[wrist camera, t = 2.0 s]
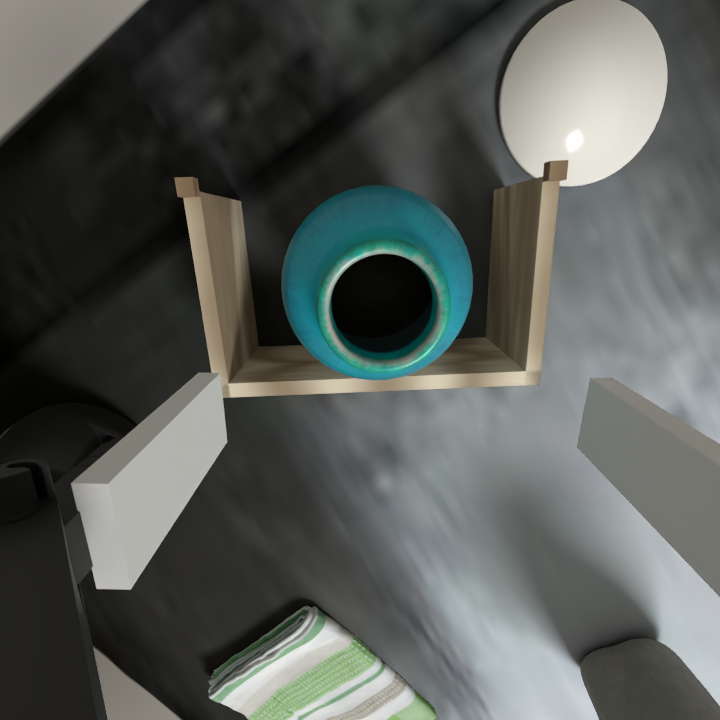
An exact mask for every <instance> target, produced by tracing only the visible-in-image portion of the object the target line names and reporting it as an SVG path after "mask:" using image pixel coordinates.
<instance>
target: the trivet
mask: <svg viewBox="0 0 720 720" xmlns="http://www.w3.org/2000/svg"><path fill="white" fill-rule="evenodd" d="M666 88H667V64H666V56H665V53H664V49H663V45H662V43H661V40H660V38H659V36H658V33H657V32H656V30H655V29H654V27H653V25H652V24H651V23H650V21H649V20H648V19H647V18H646V17H645V16H644V15H643V14H642V13H641V12H640V11H639V10H637V9H636V8H634V7H633V6H631V5H629V4H628V3H625V2H623V1H620V0H574V1H571V2H569V3H566V4H564V5H562V6H560V7H558V8H556V9H555V10H553V11H552V12H550V13H549V14H547V15H546V16H545V17H544V18H542V19H541V20H540V21H539V22H538V23H537V24H536V25H535V26H534V27H533V28H532V29H531V30H530V31H529V32H528V33H527V34H526V36H525V37H524V38H523V40H522V41H521V42H520V43H519V45H518V47H517V48H516V50H515V51H514V53H513V55H512V57H511V59H510V61H509V63H508V65H507V67H506V70H505V73H504V76H503V79H502V84H501V88H500V94H499V103H498V115H499V124H500V129H501V133H502V137H503V140H504V142H505V145H506V147H507V149H508V151H509V153H510V155H511V156H512V158H513V159H514V160H515V162H516V163H517V164H518V165H519V166H520V167H521V168H522V169H523V170H524V171H525V172H526V173H527V174H529V175H530V176H532V177H533V178H539V177H542V176H543V172H544V163H546V162H549V161H558V160H569V161H568V170H567V180H563V181H560V184H559V186H561V187H572V186H580V185H585V184H589V183H593V182H596V181H599V180H601V179H604V178H606V177H608V176H609V175H611V174H613V173H615V172H616V171H618V170H619V169H620V168H622V167H623V166H624V165H626V164H627V163H628V162H629V161H630V160H631V159H632V158H633V157H634V156H635V155H636V154H637V153H638V152H639V151H640V150H641V148H642V147H643V146H644V144H645V143H646V141H647V140H648V138H649V137H650V135H651V133H652V132H653V130H654V128H655V126H656V124H657V121H658V119H659V117H660V114H661V111H662V108H663V105H664V100H665V95H666Z"/></svg>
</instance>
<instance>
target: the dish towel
mask: <svg viewBox="0 0 720 720" xmlns="http://www.w3.org/2000/svg"><path fill="white" fill-rule="evenodd" d="M211 678H213V679H211V680H209V684H210V685H211V686H210V688H209V690H208V692H209V698H210V699H211V700H213V701H215V702H219V703H221V704H224V705H226V706H229V707H230V708H232V709H233V710H236V711H238V712H240V713H243V714H244V715H245V716H246V718H247V719H248V720H434V719H435V718H436V712H435V710H434V709H433V708H432V707H431V705H430V704H429V703H428V702H427V701H426V700H424V699H423V698H422V697H421V696H420V695H419V694H418V693H417V692H416V691H414V690H413V689H412V688H411V687H410V686H409V685H408V684H407V683H406V681H405V680H404V679H403V678H402V677H401V676H400V675H399V674H398V673H396V672H395V671H394V670H392V669H391V668H390V667H389V666H388V665H387V664H385V663H384V662H383V661H381V659H380V658H379V657H378V656H377V655H376V654H375V653H374V652H373V651H371V650H370V649H369V648H368V647H367V646H366V645H365V644H364V643H363V642H361V641H360V640H359V639H358V638H357V637H356V636H355V635H353V634H351V633H350V632H349V631H347V630H346V629H344V628H343V627H342V626H341V625H339V624H338V623H337V622H336V621H334V620H333V619H331V618H330V617H328V616H326V615H325V614H323V613H322V612H321V611H320V610H319V609H318V608H317V607H312V608H311V607H310V606H304V607H303V608H301V609H300V610H298V611H297V612H296V613H294V614H293V615H291V616H290V617H288V618H286V619H285V620H284V621H283V622H282V623H281V624H279V625H278V626H276V627H275V628H274V629H273V630H271V631H270V632H269V633H267V634H265V635H263V636H262V637H261V638H260V639H259V640H257V641H256V642H254V643H253V644H251V645H250V646H248V647H247V648H246V649H244V650H243V651H241V652H240V653H238V654H235V655H234V656H232V657H231V658H230V659H229V660H228V661H226V662H225V663H224V664H222V665H221V666H220V667H219V668H217V669H215V670H214V673H213V674H212V676H211Z"/></svg>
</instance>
